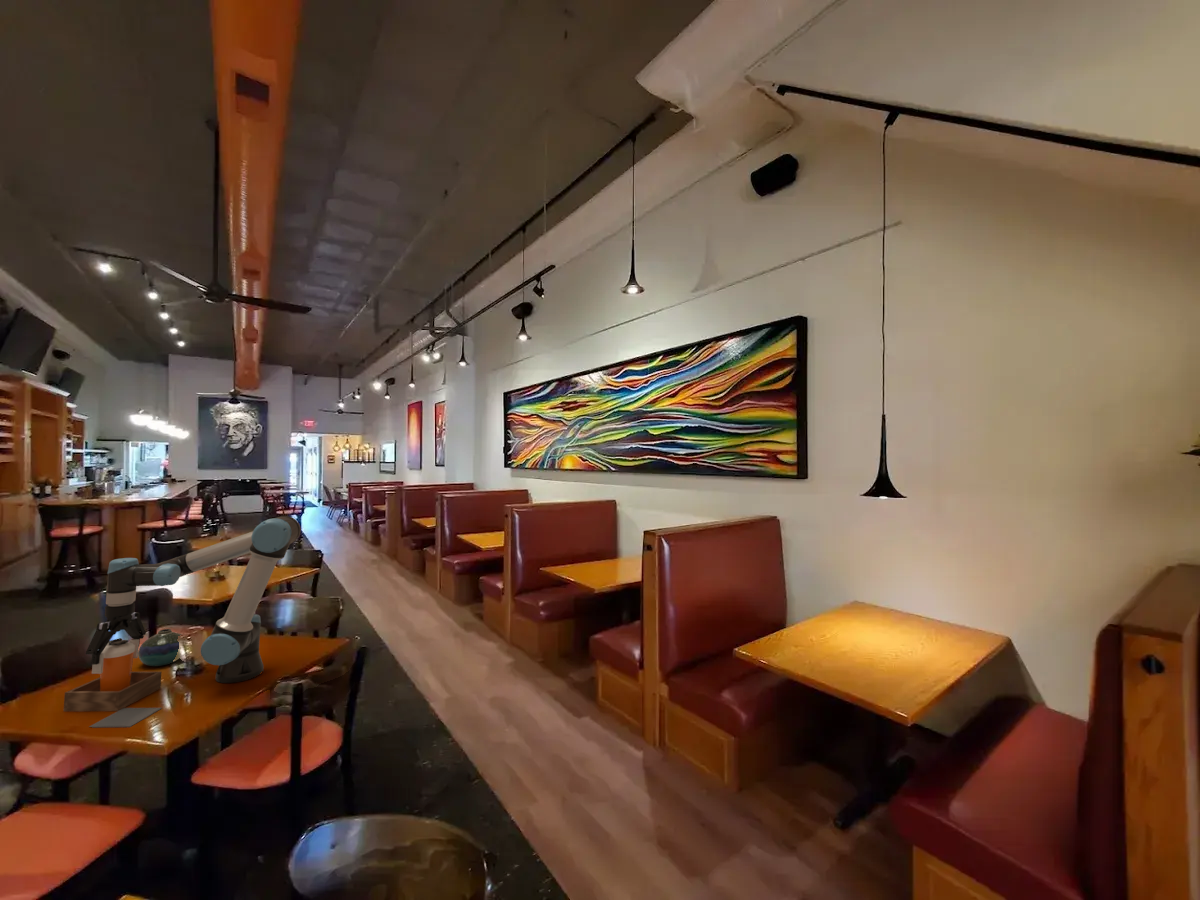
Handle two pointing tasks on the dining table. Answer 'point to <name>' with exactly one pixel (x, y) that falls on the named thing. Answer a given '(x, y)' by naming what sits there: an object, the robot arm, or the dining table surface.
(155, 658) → the vase
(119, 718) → the slate board
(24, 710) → the dining table surface
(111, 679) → the shaker bottle
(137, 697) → the square wooden frame
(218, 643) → the robot arm
